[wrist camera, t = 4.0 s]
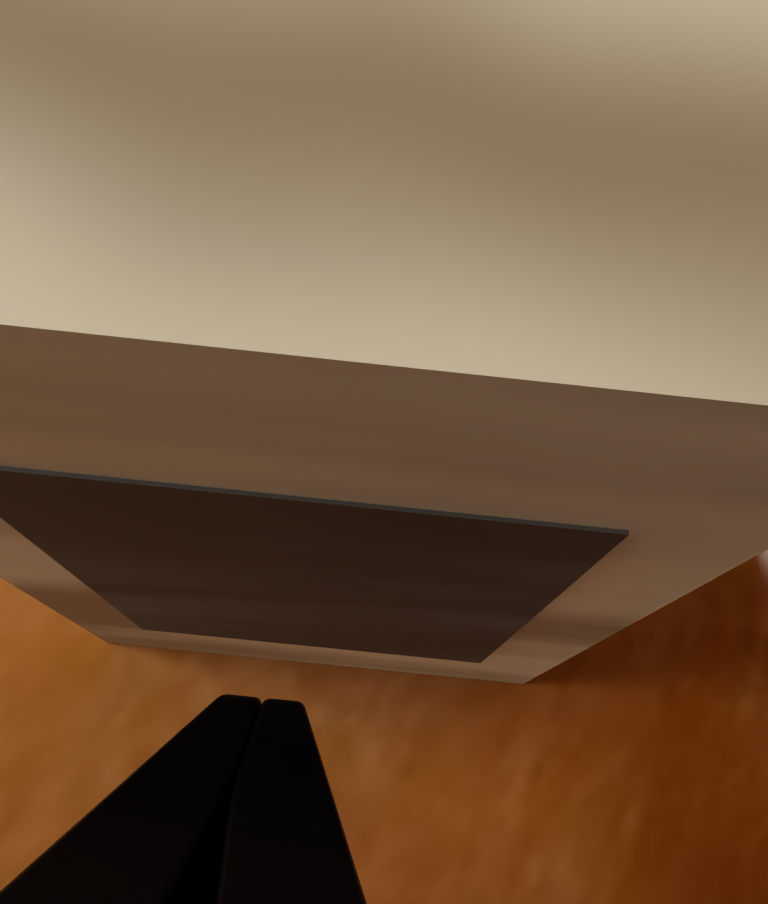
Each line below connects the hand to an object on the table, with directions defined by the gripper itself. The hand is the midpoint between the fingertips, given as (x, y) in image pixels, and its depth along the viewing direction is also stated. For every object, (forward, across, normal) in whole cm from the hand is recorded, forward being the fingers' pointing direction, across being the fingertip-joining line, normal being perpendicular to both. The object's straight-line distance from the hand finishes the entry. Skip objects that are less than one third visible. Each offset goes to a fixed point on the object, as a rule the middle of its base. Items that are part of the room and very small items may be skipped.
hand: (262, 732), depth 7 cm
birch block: (+10, 0, +3) cm, 10 cm away
